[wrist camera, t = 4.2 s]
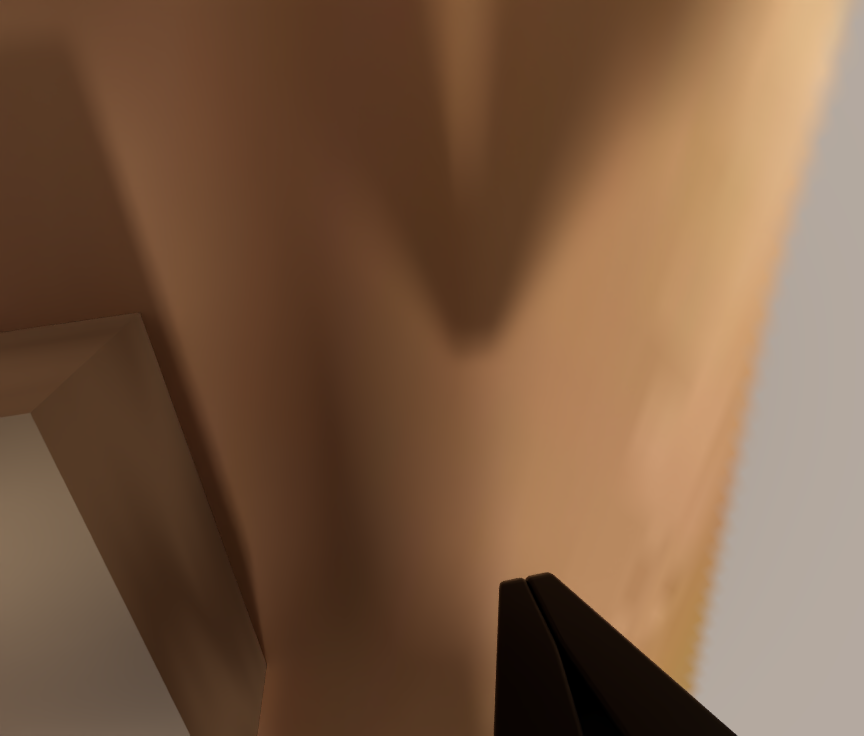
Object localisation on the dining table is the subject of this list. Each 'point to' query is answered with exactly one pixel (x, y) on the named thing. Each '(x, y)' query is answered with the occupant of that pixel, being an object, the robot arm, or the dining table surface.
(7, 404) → the t block
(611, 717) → the robot arm
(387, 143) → the dining table surface
